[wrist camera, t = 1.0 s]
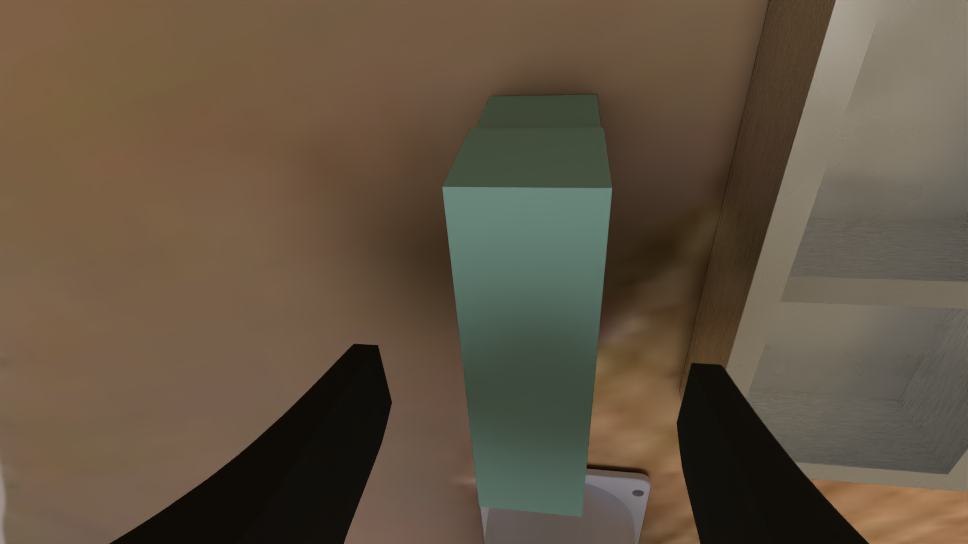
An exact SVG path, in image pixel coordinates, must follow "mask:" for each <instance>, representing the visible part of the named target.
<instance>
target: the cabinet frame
mask: <svg viewBox="0 0 968 544" xmlns="http://www.w3.org/2000/svg"><path fill="white" fill-rule="evenodd" d="M691 363H703V364H721V365H722V366H723V367H724V368H725V370H726V371H727V373H728V374H729V375H730V377H731V378H732V380H733V381H734V383H735V384H736V386H737V387H738V388H739V390H740V391H741V393H742V394H743V395H744V397H745V398H746V400H747V401H748V402H749V404H750V405H751V407H752V408H753V409H754V411H755V412H756V413H757V415H758V416H759V417H760V419H761V420H762V421H763V423H764V424H765V425H766V427H767V428H768V429H769V431H770V432H771V433H772V434H773V436H774V437H775V438H776V440H777V441H778V442H779V443H780V445H781V446H782V447H783V448H784V450H785V451H786V452H787V453H788V455H789V456H790V457H791V458H792V460H793V461H794V462H795V463H796V464H797V466H798V467H799V468H800V469H801V470H802V472H803V473H804V474H805V475H806V476H807V477H808V478H809V479H820V480H832V481H844V482H856V483H867V484H879V485H891V486H902V487H914V488H926V489H937V490H949V491H961V492H965V491H966V490H967V489H968V0H770V2H769V6H768V10H767V15H766V19H765V23H764V28H763V32H762V36H761V41H760V45H759V49H758V53H757V58H756V62H755V66H754V71H753V75H752V79H751V84H750V88H749V92H748V97H747V101H746V105H745V110H744V114H743V118H742V123H741V127H740V131H739V135H738V140H737V144H736V148H735V153H734V157H733V161H732V166H731V170H730V174H729V179H728V183H727V187H726V192H725V196H724V200H723V204H722V209H721V213H720V217H719V222H718V226H717V230H716V235H715V239H714V243H713V248H712V252H711V256H710V261H709V265H708V269H707V274H706V278H705V282H704V286H703V291H702V295H701V299H700V304H699V308H698V312H697V317H696V321H695V325H694V330H693V334H692V338H691V343H690V347H689V351H688V355H687V360H686V364H685V368H684V373H683V377H682V381H681V386H680V390H679V391H680V396H681V401H682V400H683V395H684V391H685V387H686V383H687V379H688V375H689V371H690V367H691Z"/></svg>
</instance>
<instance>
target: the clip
mask: <svg viewBox="0 0 968 544" xmlns="http://www.w3.org/2000/svg"><path fill="white" fill-rule="evenodd" d="M442 189H443V198H444V206H445V215H446V224H447V232H448V241H449V249H450V258H451V267H452V275H453V284H454V293H455V301H456V310H457V319H458V327H459V336H460V345H461V353H462V362H463V370H464V379H465V388H466V396H467V405H468V414H469V422H470V431H471V440H472V448H473V457H474V465H475V474H476V483H477V491H478V500H479V506H480V507H489V508H499V509H509V510H519V511H529V512H538V513H548V514H558V515H568V516H578V517H582V511H583V500H584V489H585V478H586V467H587V457H588V446H589V435H590V424H591V413H592V402H593V392H594V381H595V370H596V359H597V348H598V337H599V326H600V316H601V305H602V294H603V283H604V272H605V261H606V250H607V240H608V229H609V218H610V207H611V196H612V183H611V176H610V169H609V161H608V154H607V147H606V140H605V132H604V128H601V122H600V114H599V106H598V99H597V94H592V95H538V96H490V98H489V100H488V102H487V104H486V107H485V109H484V111H483V114H482V116H481V118H480V120H479V123H478V125H477V127H476V129H469V131H468V133H467V135H466V137H465V139H464V141H463V143H462V146H461V148H460V150H459V152H458V154H457V156H456V158H455V161H454V163H453V165H452V167H451V169H450V171H449V174H448V176H447V178H446V180H445V182H444V184H443V186H442Z"/></svg>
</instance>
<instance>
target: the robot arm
mask: <svg viewBox="0 0 968 544" xmlns="http://www.w3.org/2000/svg"><path fill="white" fill-rule="evenodd" d="M391 404H392V401H391V397H390V393H389V388H388V384H387V380H386V376H385V372H384V368H383V364H382V360H381V356H380V352H379V348H378V345H364V344H353V345H352V346H351V347H350V348H349V349H348V350H347V351H346V352H345V353H344V354H343V355H342V356H341V357H340V358H339V359H338V360H337V361H336V363H335V364H334V365H333V366H332V367H331V368H330V369H329V370H328V371H327V372H326V373H325V374H324V375H323V376H322V377H321V378H320V379H319V380H318V381H317V382H316V383H315V384H314V385H313V386H312V387H311V388H310V389H309V390H308V391H307V392H306V393H305V394H304V395H303V396H302V397H301V398H300V399H299V400H298V401H297V402H296V403H295V404H294V405H293V406H292V407H291V408H290V409H289V410H288V411H287V412H286V413H285V414H284V415H283V416H282V417H281V418H279V419H278V420H277V421H276V422H275V423H274V424H273V425H272V426H271V427H269V428H268V429H267V430H266V431H265V432H264V433H263V434H262V435H261V436H260V437H258V438H257V439H256V440H255V441H254V442H253V443H252V444H250V445H249V446H248V447H247V448H246V449H245V450H243V451H242V452H241V453H240V454H239V455H237V456H236V457H235V458H234V459H233V460H231V461H230V462H229V463H227V464H226V465H225V466H224V467H222V468H221V469H220V470H219V471H217V472H216V473H215V474H213V475H212V476H211V477H209V478H208V479H207V480H205V481H204V482H203V483H201V484H200V485H198V486H197V487H195V488H194V489H193V490H191V491H190V492H188V493H187V494H185V495H184V496H183V497H181V498H180V499H178V500H177V501H175V502H174V503H173V504H171V505H170V506H168V507H167V508H165V509H164V510H163V511H161V512H160V513H158V514H156V515H155V516H153V517H152V518H150V519H149V520H147V521H146V522H144V523H142V524H141V525H139V526H138V527H136V528H135V529H133V530H131V531H130V532H128V533H126V534H125V535H123V536H121V537H120V538H118V539H116V540H115V541H113V542H111V543H110V544H344V541H345V538H346V535H347V532H348V530H349V527H350V524H351V522H352V519H353V517H354V514H355V511H356V509H357V506H358V504H359V501H360V499H361V496H362V493H363V491H364V488H365V486H366V483H367V481H368V478H369V475H370V473H371V470H372V467H373V465H374V462H375V460H376V457H377V454H378V452H379V449H380V446H381V443H382V440H383V436H384V433H385V429H386V425H387V421H388V417H389V413H390V408H391ZM677 430H678V438H679V447H680V455H681V463H682V469H683V473H684V478H685V482H686V486H687V490H688V494H689V499H690V503H691V507H692V511H693V515H694V519H695V523H696V527H697V531H698V535H699V539H700V544H869V543H868V542H867V541H866V540H865V539H864V538H863V537H862V536H861V535H860V534H859V533H858V532H857V531H856V530H855V529H854V528H853V527H852V526H851V525H850V524H849V523H848V522H847V521H846V520H845V518H844V517H843V516H842V515H841V514H840V513H839V512H838V511H837V510H836V509H835V508H834V507H833V506H832V504H831V503H830V502H829V501H828V500H827V499H826V498H825V497H824V496H823V495H822V493H821V492H820V491H819V490H818V489H817V488H816V487H815V485H814V484H813V483H812V482H811V481H810V480H809V479H808V477H807V476H806V475H805V474H804V473H803V472H802V470H801V469H800V468H799V467H798V466H797V464H796V463H795V462H794V461H793V460H792V458H791V457H790V456H789V455H788V453H787V452H786V451H785V450H784V448H783V447H782V446H781V445H780V443H779V442H778V441H777V440H776V438H775V437H774V436H773V434H772V433H771V432H770V431H769V429H768V428H767V427H766V425H765V424H764V423H763V421H762V420H761V419H760V417H759V416H758V415H757V413H756V412H755V411H754V409H753V408H752V407H751V405H750V404H749V402H748V401H747V400H746V398H745V397H744V395H743V394H742V393H741V391H740V390H739V388H738V387H737V386H736V384H735V383H734V381H733V380H732V378H731V377H730V375H729V374H728V373H727V371H726V370H725V368H724V367H723V366H722V365H721V364H703V363H691V367H690V371H689V375H688V379H687V383H686V387H685V391H684V395H683V400H682V404H681V408H680V412H679V416H678V420H677ZM650 488H651V486H650V479H649V477H648V476H646V475H644V474H641V473H631V472H620V471H608V470H597V469H586V478H585V489H584V500H583V511H582V517H578V516H568V515H558V514H548V513H538V512H529V511H519V510H509V509H499V508H489V507H481V516H482V525H483V534H484V544H638V542H639V538H640V533H641V529H642V524H643V520H644V515H645V510H646V506H647V501H648V497H649V492H650Z"/></svg>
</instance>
